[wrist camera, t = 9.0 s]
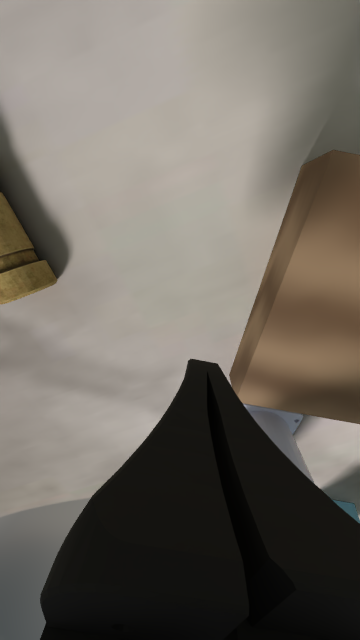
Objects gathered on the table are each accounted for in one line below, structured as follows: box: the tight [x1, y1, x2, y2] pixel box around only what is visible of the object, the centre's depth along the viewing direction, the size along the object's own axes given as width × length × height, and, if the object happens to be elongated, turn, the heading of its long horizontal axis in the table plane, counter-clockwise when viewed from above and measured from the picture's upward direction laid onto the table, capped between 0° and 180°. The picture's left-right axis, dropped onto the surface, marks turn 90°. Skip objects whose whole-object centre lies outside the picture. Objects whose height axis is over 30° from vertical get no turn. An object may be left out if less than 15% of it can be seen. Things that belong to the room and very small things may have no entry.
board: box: [229, 150, 360, 424], centre depth 17 cm, size 18×12×4 cm, turn 170°
